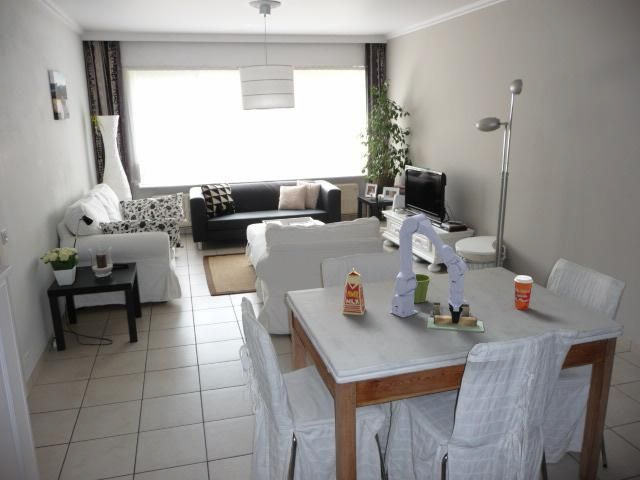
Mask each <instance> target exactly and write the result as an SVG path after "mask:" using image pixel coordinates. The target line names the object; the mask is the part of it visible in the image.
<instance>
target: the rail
mask: <svg viewBox="0 0 640 480" xmlns="http://www.w3.org/2000/svg"><path fill="white" fill-rule="evenodd" d="M433 318H434V324H442V325H457V326H472V327H477V321H478V318H477V317H473V316H471V317H460V318H459V322H458V324H455V323H452V317H451V315H443V314H442V315H434V317H433Z"/></svg>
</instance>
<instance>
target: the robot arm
mask: <svg viewBox="0 0 640 480" xmlns="http://www.w3.org/2000/svg"><path fill="white" fill-rule="evenodd" d="M415 234H419V235H423V236H425V237H426V238H427V239H428V240H429V241H430V243H431V244H432V245H433V246H434V247H435V249H436V250H437V251H436V252H437V253H436V254H437V255H438V257H439V258H440V260H441V261H442V262H443V264H444V265H445V266H446V271H447V274H448V276H449V285H448V286H449V287H448V300H447V301H448V310H449V312H450V316H451V317H452V323H455V324H458V322H459V318H460V314H461V313H462V311H463V308H462V306H463V304H467V300H466V299H464V295H465V292H464V291H465V273H466V272H467V270H468V265H467V263H466V261H465V260H463V259H461V258H460V257H459V256H458V255H457V254H456V252H454V248H453V247H452V246H450V245H449V244H445V243H444V242H443V240H442V239H441V237H440V236H439V234H438V233H437V231H436V230H435V229H434V227H433V225H432V222H431V220H430V219H429V218H428V216H427V215H426V214H424V213H418V214H416V215H411V216H408V217H406V218H405V219H404V220H402V224H401V227H400V229H399V232H398V238H399V241H398V242H399V244H398V245H399V251H398V253H399V272H398V274H397V275H396V278H395V283H394V285H393V286H394V287H393V288H394V291H395V292H396V294H395V295H393V297H392V299H391V310H390V313H391V314H394V315H395V316H398V317H401V318H406V317H409V316H413V315H415V314H417V313H419V311H418V310H415V302H414V292H415V289H416V288H417V285H418V283H417V280H416V274H417V273H415V271H414V270H413V268H414V267H413V236H414V235H415Z"/></svg>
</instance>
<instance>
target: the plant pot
mask: <svg viewBox="0 0 640 480" xmlns="http://www.w3.org/2000/svg"><path fill="white" fill-rule="evenodd" d="M415 274H416V280H417V283H418V285H417V288H416V289H415V292H414V304H416V303H417V304H419V303H425V302H426V299H427V296H428V295H427V293H428V289H429V284H430V282H431V281H430V280H432V277H431V275H428V274H423V273H415Z"/></svg>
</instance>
